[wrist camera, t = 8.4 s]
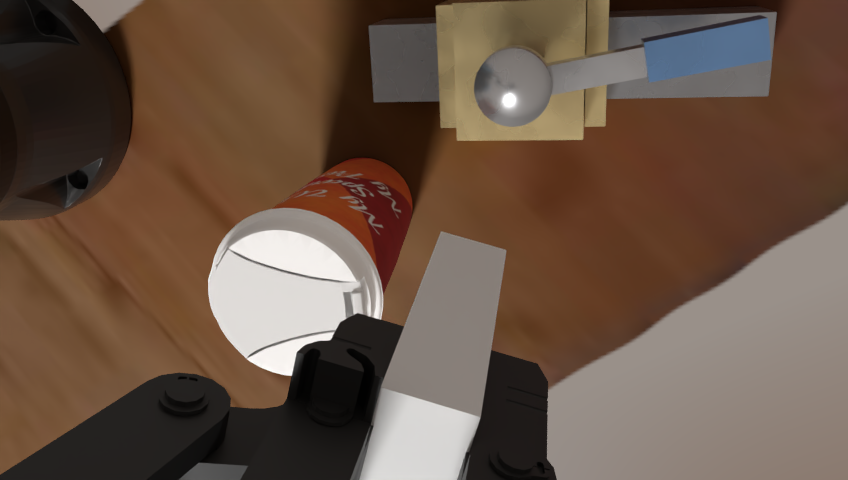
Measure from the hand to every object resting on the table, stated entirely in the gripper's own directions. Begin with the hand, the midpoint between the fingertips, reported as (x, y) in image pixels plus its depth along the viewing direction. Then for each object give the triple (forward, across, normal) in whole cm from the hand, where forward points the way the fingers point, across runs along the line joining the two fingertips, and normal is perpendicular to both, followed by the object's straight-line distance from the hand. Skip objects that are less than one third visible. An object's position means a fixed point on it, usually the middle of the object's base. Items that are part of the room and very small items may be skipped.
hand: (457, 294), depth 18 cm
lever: (+18, +4, +4) cm, 19 cm away
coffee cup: (+30, -7, -10) cm, 32 cm away
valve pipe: (+29, +2, +2) cm, 29 cm away
